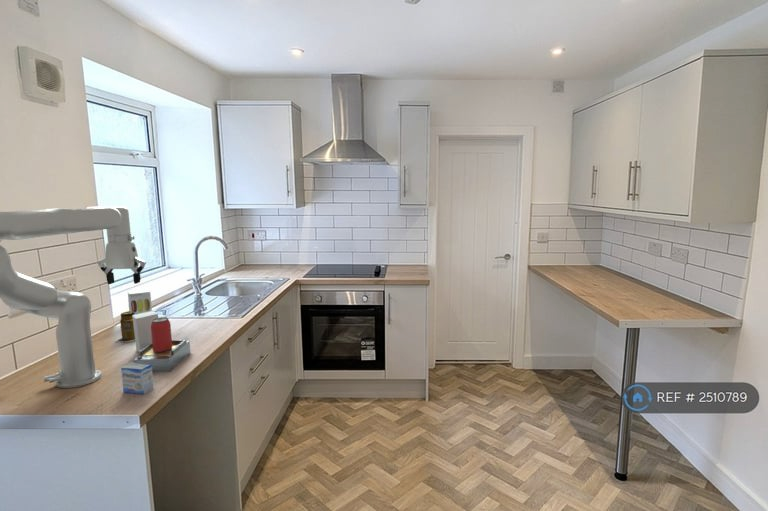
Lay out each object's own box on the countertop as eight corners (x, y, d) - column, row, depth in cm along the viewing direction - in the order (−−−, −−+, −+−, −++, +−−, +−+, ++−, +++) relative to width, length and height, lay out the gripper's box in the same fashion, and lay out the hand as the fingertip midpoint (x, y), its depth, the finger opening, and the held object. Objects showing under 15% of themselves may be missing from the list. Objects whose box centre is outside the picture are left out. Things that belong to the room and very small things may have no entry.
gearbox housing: (170, 371, 147) (168, 354, 146) (135, 372, 146) (133, 355, 145) (190, 352, 165) (189, 337, 164) (159, 353, 164) (157, 337, 163)
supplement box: (131, 327, 196) (127, 294, 193) (129, 322, 203) (126, 290, 201) (153, 323, 201) (150, 291, 199) (151, 319, 209) (148, 287, 206)
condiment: (142, 335, 185) (139, 310, 183) (131, 342, 176) (128, 316, 174) (126, 335, 184) (123, 310, 183) (114, 342, 176) (111, 316, 174)
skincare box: (157, 345, 173) (154, 310, 170) (162, 349, 168) (159, 313, 166) (135, 350, 167) (131, 314, 165) (139, 355, 162) (135, 317, 160)
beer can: (167, 344, 159) (165, 315, 157) (175, 348, 155) (172, 319, 153) (150, 349, 154) (147, 319, 152) (157, 354, 150) (154, 323, 148)
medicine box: (122, 392, 131) (120, 367, 130) (133, 386, 136) (130, 362, 134) (144, 394, 130) (141, 369, 129) (154, 388, 134) (151, 363, 133)
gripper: (148, 238, 157) (152, 280, 159) (102, 238, 156) (106, 281, 158) (137, 240, 149) (142, 285, 152) (89, 240, 148) (94, 285, 151)
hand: (124, 283), depth 155 cm, fingers open, 9 cm apart
